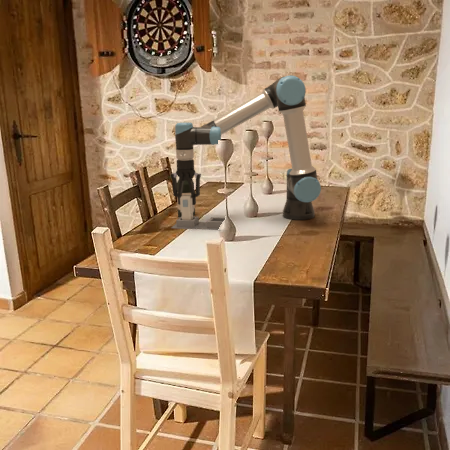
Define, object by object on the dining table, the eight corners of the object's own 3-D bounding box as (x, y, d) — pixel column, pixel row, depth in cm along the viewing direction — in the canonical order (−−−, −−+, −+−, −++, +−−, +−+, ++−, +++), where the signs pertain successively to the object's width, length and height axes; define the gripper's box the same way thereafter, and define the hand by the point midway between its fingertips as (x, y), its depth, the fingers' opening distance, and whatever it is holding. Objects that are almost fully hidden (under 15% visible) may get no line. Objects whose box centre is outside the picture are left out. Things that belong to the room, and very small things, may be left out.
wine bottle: (198, 216, 240) (196, 154, 232) (186, 220, 234) (183, 156, 226) (187, 214, 245) (184, 153, 238) (174, 217, 240) (171, 155, 232)
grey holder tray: (234, 225, 223) (234, 216, 222) (228, 232, 212) (228, 223, 211) (179, 223, 228) (178, 214, 227) (170, 230, 217) (170, 221, 216)
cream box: (193, 220, 222) (192, 194, 219) (190, 223, 218) (189, 196, 214) (184, 220, 223) (183, 194, 220) (181, 223, 218) (180, 196, 215)
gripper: (163, 160, 212) (166, 213, 218) (202, 160, 208) (203, 214, 214) (169, 157, 219) (171, 209, 225) (206, 158, 215) (208, 210, 221)
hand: (187, 211), depth 220 cm, fingers closed on cream box, 4 cm apart
